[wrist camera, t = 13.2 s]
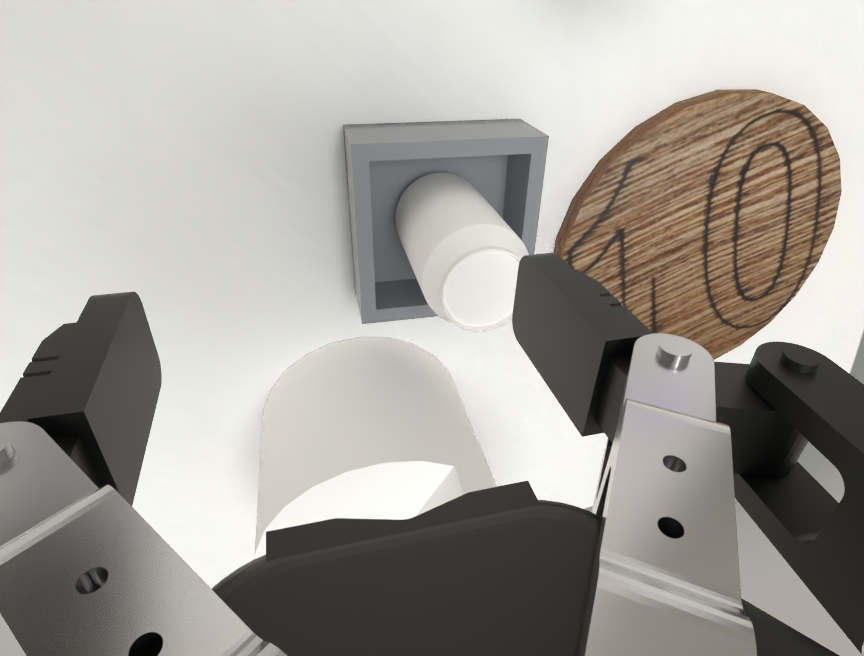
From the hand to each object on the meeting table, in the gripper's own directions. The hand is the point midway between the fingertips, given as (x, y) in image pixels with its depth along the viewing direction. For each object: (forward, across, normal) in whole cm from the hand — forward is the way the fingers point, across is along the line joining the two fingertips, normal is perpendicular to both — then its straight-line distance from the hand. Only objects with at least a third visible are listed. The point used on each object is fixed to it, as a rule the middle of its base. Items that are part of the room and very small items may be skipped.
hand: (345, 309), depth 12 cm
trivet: (+26, -31, +13) cm, 43 cm away
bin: (+26, -9, +8) cm, 29 cm away
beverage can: (+25, -9, +8) cm, 28 cm away
